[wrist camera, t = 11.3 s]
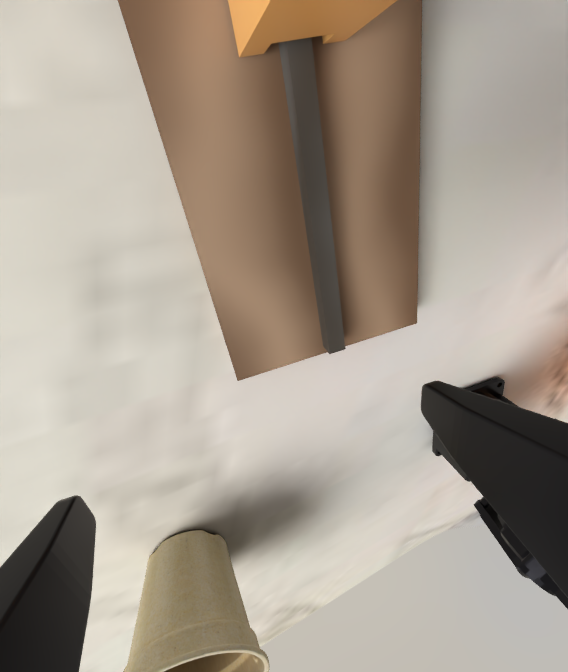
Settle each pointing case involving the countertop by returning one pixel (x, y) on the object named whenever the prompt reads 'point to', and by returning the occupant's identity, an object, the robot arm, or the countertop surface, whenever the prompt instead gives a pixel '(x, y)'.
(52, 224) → the countertop surface
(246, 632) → the flower pot
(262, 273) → the track
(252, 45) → the block
